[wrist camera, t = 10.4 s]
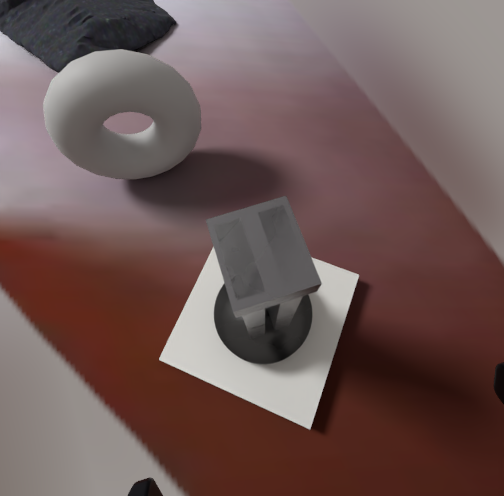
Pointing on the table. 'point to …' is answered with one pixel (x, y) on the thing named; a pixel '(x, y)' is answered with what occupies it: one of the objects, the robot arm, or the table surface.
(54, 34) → the folded grey shirt
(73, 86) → the donut
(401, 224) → the table surface
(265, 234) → the grey channel block
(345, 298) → the ceramic tile
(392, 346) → the table surface
